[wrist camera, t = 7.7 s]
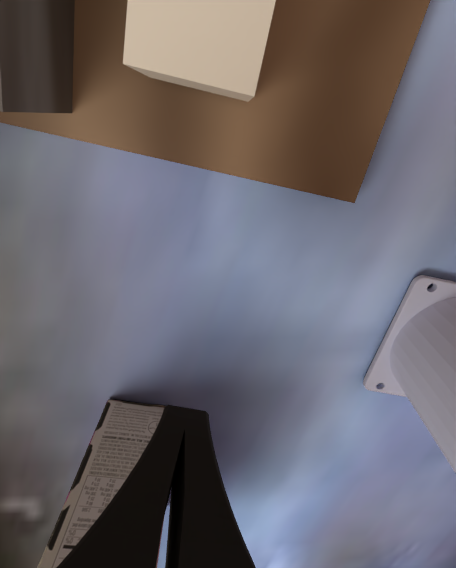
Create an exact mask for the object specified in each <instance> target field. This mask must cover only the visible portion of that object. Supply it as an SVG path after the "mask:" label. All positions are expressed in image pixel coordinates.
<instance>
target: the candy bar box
mask: <svg viewBox="0 0 456 568" xmlns="http://www.w3.org/2000/svg"><path fill="white" fill-rule="evenodd" d="M164 407H166V406H163V405H152V404H141V403H134V402H127V401H119V400H108V401H107V403H106V405H105V408H104V410H103V413H102V415H101V418H100V420H99V422H98V425H97V427H96V429H95V432H94V434H93V436H92V439H91V441H90V443H89V446H88V448H87V450H86V453H85V456H84V458H83V460H82V462H81V465H80V467H79V470H78V472H77V475H76V477H75V479H74V482H73V484H72V487H71V489H70V492H69V494H68V496H67V499H66V501H65V503H64V506H63V508H62V511H61V513H60V516H59V518H58V520H57V523H56V525H55V528H54V530H53V532H52V535H51V537H50V540H49V542H48V544H47V546H46V549H45V551H44V554H43V556H42V558H41V561H40V563H39V565H38V568H56V567H57V566H58V565H59V564H60V563H61V562H62V561H63V560H64V559H65V557H66V556H67V555H68V554H69V553H70V552H71V550H72V549H73V548H74V547H75V546H76V545H77V543H78V542H79V541H80V540H81V538H82V537H83V536H84V535H85V534H86V532H87V531H88V530H89V529H90V527H91V526H92V525H93V524H94V523H95V521H96V520H97V519H98V517H99V516H100V515H101V513H102V512H103V511H104V510H105V508H106V507H107V506H108V504H109V503H110V502H111V500H112V499H113V497H114V496H115V495H116V493H117V492H118V490H119V489H120V488H121V486H122V485H123V483H124V482H125V480H126V479H127V477H128V476H129V474H130V473H131V471H132V470H133V468H134V467H135V465H136V463H137V462H138V460H139V459H140V457H141V455H142V453H143V452H144V450H145V448H146V447H147V445H148V443H149V441H150V440H151V438H152V436H153V434H154V432H155V430H156V428H157V426H158V423H159V421H160V419H161V416H162V414H163V410H164ZM163 521H164V519H163ZM162 528H163V525H162ZM161 535H162V531H161ZM160 542H161V538H160ZM159 549H160V544H159ZM158 556H159V551H158ZM157 563H158V557H157ZM156 568H157V564H156Z"/></svg>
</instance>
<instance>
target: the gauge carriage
mask: <svg viewBox="0 0 456 568" xmlns="http://www.w3.org/2000/svg"><path fill="white" fill-rule="evenodd" d="M275 2H276V0H128V2H127V15H126V28H125V41H124V54H123V64H124V65H126V66H128V67H130V68H132V69H134V70H136V71H138V72H140V73H142V74H144V75H146V76H148V77H150V78H154V79H158V80H162V81H166V82H170V83H174V84H178V85H182V86H186V87H190V88H194V89H198V90H202V91H206V92H211V93H215V94H219V95H223V96H227V97H231V98H235V99H239V100H243V101H247V102H249V101H250V100H251V99H252V98H253V97H254V96H255V92H256V87H257V83H258V78H259V74H260V69H261V65H262V60H263V56H264V51H265V47H266V42H267V38H268V33H269V29H270V24H271V20H272V15H273V11H274V6H275Z"/></svg>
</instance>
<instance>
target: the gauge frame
mask: <svg viewBox="0 0 456 568" xmlns="http://www.w3.org/2000/svg"><path fill="white" fill-rule="evenodd" d="M127 2H128V0H0V122H1V123H5V124H10V125H14V126H19V127H23V128H27V129H32V130H36V131H41V132H45V133H49V134H54V135H58V136H63V137H67V138H71V139H76V140H80V141H84V142H89V143H93V144H98V145H102V146H106V147H111V148H115V149H120V150H124V151H128V152H133V153H137V154H141V155H146V156H150V157H155V158H159V159H163V160H168V161H172V162H177V163H181V164H185V165H190V166H194V167H199V168H203V169H207V170H212V171H216V172H220V173H225V174H229V175H234V176H238V177H242V178H247V179H251V180H256V181H260V182H264V183H269V184H273V185H277V186H282V187H286V188H291V189H295V190H299V191H304V192H308V193H313V194H317V195H321V196H326V197H330V198H335V199H339V200H343V201H348V202H352V203H355V200H356V198H357V195H358V192H359V190H360V187H361V184H362V182H363V179H364V176H365V174H366V171H367V168H368V166H369V163H370V160H371V158H372V155H373V152H374V150H375V147H376V144H377V142H378V139H379V136H380V134H381V131H382V128H383V126H384V123H385V120H386V118H387V115H388V112H389V110H390V107H391V104H392V102H393V99H394V96H395V94H396V91H397V88H398V86H399V83H400V80H401V78H402V75H403V72H404V70H405V67H406V64H407V61H408V59H409V56H410V53H411V51H412V48H413V45H414V43H415V40H416V37H417V35H418V32H419V29H420V27H421V24H422V21H423V19H424V16H425V13H426V11H427V8H428V5H429V3H430V0H276V2H275V6H274V11H273V15H272V20H271V24H270V29H269V33H268V38H267V42H266V47H265V51H264V56H263V60H262V65H261V69H260V74H259V78H258V83H257V87H256V92H255V96H254V97H253V98H252V99H251V100H250V101H249V102H247V101H243V100H239V99H235V98H231V97H227V96H223V95H219V94H215V93H211V92H206V91H202V90H198V89H194V88H190V87H186V86H182V85H178V84H174V83H170V82H166V81H162V80H158V79H154V78H150V77H148V76H146V75H144V74H142V73H140V72H138V71H136V70H134V69H132V68H130V67H128V66H126V65H124V64H123V54H124V41H125V28H126V15H127Z"/></svg>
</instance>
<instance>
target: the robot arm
mask: <svg viewBox="0 0 456 568" xmlns="http://www.w3.org/2000/svg"><path fill="white" fill-rule="evenodd" d="M430 284H433V286H432V287H431V288H430V289H427V287H428V286H429V285H430ZM379 383H381V384H380V385H377V384H379ZM363 384H364V386H365V388H366V389H367V390H371V391H376V392H382V393H387V394H393V395H399V396H404V397H408V399H409V401H410V402H411V404H412V405H413V407H414V408H415V410H416V412H417V413H418V415H419V416H420V418H421V420H422V421H423V423H424V424H425V426H426V427H427V429H428V431H429V432H430V434H431V435H432V437H433V438H434V440H435V442H436V443H437V445H438V446H439V448H440V449H441V451H442V453H443V454H444V456H445V457H446V459H447V460H448V462H449V464H450V465H451V467H452V468H453V470H454V471H455V473H456V282H454V281H449V280H445V279H440V278H435V277H430V276H426V275H420V276H417V277H416V278H414V279H413V281H412V282H411V284H410V286H409V288H408V290H407V292H406V294H405V296H404V298H403V301H402V303H401V305H400V307H399V309H398V311H397V313H396V315H395V317H394V319H393V321H392V323H391V325H390V327H389V329H388V331H387V333H386V335H385V337H384V339H383V341H382V343H381V345H380V347H379V349H378V351H377V353H376V355H375V357H374V359H373V361H372V363H371V365H370V367H369V369H368V371H367V374H366V376H365V378H364V380H363ZM171 487H172V490H171ZM170 491H171V502H170V515H169V527H168V540H167V553H166V566H165V568H256V567H255V565H254V563H253V560H252V558H251V556H250V554H249V551H248V549H247V547H246V544H245V542H244V540H243V537H242V535H241V532H240V530H239V527H238V525H237V522H236V519H235V517H234V514H233V511H232V509H231V506H230V503H229V500H228V497H227V494H226V491H225V488H224V484H223V481H222V478H221V474H220V470H219V467H218V463H217V460H216V455H215V451H214V447H213V442H212V437H211V431H210V424H209V414H208V413H207V412H206V411H201V410H195V409H189V408H183V407H177V406H171V405H168V406H166V407H164V410H163V414H162V416H161V419H160V421H159V423H158V426H157V428H156V430H155V432H154V434H153V436H152V438H151V440H150V441H149V443H148V445H147V447H146V448H145V450H144V452H143V453H142V455H141V457H140V459H139V460H138V462H137V463H136V465H135V467H134V468H133V470H132V471H131V473H130V474H129V476H128V477H127V479H126V480H125V482H124V483H123V485H122V486H121V488H120V489H119V490H118V492H117V493H116V495H115V496H114V497H113V499H112V500H111V502H110V503H109V504H108V506H107V507H106V508H105V510H104V511H103V512H102V513H101V515H100V516H99V517H98V519H97V520H96V521H95V523H94V524H93V525H92V526H91V527H90V529H89V530H88V531H87V532H86V534H85V535H84V536H83V537H82V538H81V540H80V541H79V542H78V543H77V545H76V546H75V547H74V548H73V549H72V550H71V552H70V553H69V554H68V555H67V556H66V557H65V559H64V560H63V561H62V562H61V563H60V564H59V565H58V566H57V567H56V568H156V564H157V557H158V551H159V544H160V538H161V531H162V525H163V519H164V515H165V511H166V507H167V503H168V499H169V495H170Z"/></svg>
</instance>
